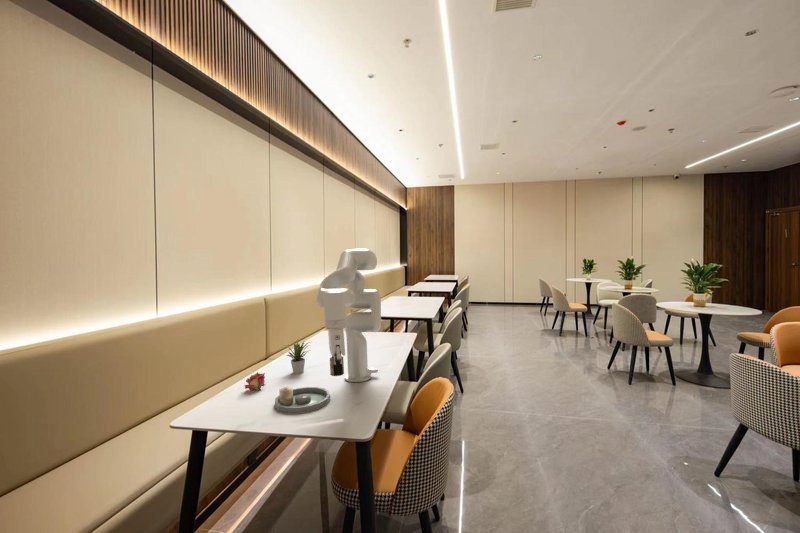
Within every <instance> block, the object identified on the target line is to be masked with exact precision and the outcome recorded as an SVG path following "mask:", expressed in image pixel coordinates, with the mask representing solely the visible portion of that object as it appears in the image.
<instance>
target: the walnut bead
mask: <svg viewBox="0 0 800 533" xmlns="http://www.w3.org/2000/svg"><path fill="white" fill-rule="evenodd" d="M341 358H342V371H343V374H342V375H336V376H334V371H333V365H334V357H332V356H330V358H329V366H330V367H329V372H330V376H331V377H340V376H343V375H344V374H345V367H344V363H345V362H344V356H343V355H341ZM336 359H337V358H335V360H336Z"/></svg>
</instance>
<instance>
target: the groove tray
mask: <svg viewBox="0 0 800 533" xmlns="http://www.w3.org/2000/svg"><path fill="white" fill-rule="evenodd" d="M330 401H331V394H330V390H328V389H326V388H324V387H319V386H307V387H305V386H304V387H297V388H293V404H292V405H290V406H283V405H280V395H278V396H277V397H275V400H274V408H275V409H276V410H277V411H278V412H280V413H283V414H302V413H309V412H312V411H313V412H314V411H316V410H318V409H321V408H323V407H325V406H326V405H328V404H329V402H330Z"/></svg>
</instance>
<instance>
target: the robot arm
mask: <svg viewBox="0 0 800 533" xmlns="http://www.w3.org/2000/svg"><path fill="white" fill-rule="evenodd" d="M377 265H378V259H377V255H376V254H375V252H374V251H373V250H370V249H367V248H352V249H345V250H344V251H342V252H341V253H340V255H339V259H338V263H337V266H336V270H334V271H333V272H331V273H330V274H328V275H327V276H326V277H324V278H323V280H322V281H321V283H320V284H319V288H318V291H317V294H316V302H317V305H318V306H319V307H321V308H323V312H324V313H323V314H324V315H323V316H324V330H326V331H328V332H327V333H328V347H329V352H330V355H331V357H334V365H333V371H334V376H333V377H337V376H336V375H341V376H343V375H344V374H343V371H342V358H341V356H342V357H345V356H347V359H346V360H347V374H346V375H344V380H345V381H346V382H350V383H362V382H367V381H369V380H370V379H371V378H372V374H376V373H379V370H378V368H374V367H371V368H369V365H368V364H369V363H368V362H369V361H368V341H367V338H366V337H365V335H364V334H363V333H376V332H379V331H380V330H381V326H382V301H381V299H382V298H381V293H380V292H379V290H377V289H372V288H369V289H366V278H365V276H363V274H362V273H361V272H360V271H372V270H375V269H376V267H377ZM346 285H347V287H345V288H340V287H342V286H346ZM346 308H348V309H351V310H370V311H352V312H349V313H346ZM344 331H345V334H344ZM345 338H346V345H345ZM345 346H346V347H345ZM346 354H347V355H346ZM335 358H337V359H336V360H335ZM342 374H343V375H342Z"/></svg>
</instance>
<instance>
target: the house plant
mask: <svg viewBox="0 0 800 533" xmlns="http://www.w3.org/2000/svg"><path fill="white" fill-rule="evenodd" d="M305 342H306V341H305V340H304V341H302V343H301V344H300V343H299V342H298V340H296V341H293V350H292V348H291V347H289V346H288V345H284V346H285V347H287V348H288V349H289V350H290V351H288V353H289V354H286V356H287V357H290V358H291V359H290V363H291V369H292V373H293V374H302V373H304V372H305V371H304V370H305V361H306V359H305V358H304V357H305V356H306V354H307V353H309V352H310V351H311V349H309V350H307V351H305V350H306V348H308V347H309V346H311V345H310V343H311V341H309V342H306V343H305ZM308 344H309V345H308Z"/></svg>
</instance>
